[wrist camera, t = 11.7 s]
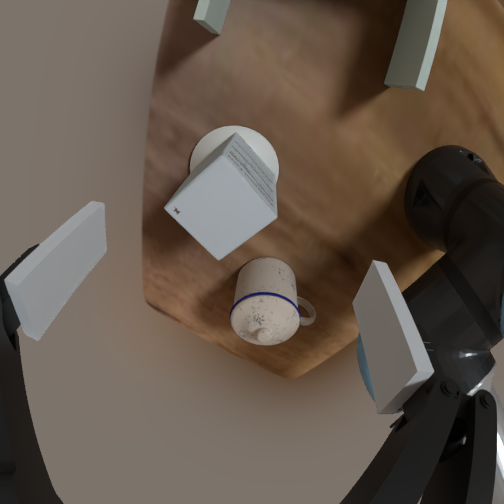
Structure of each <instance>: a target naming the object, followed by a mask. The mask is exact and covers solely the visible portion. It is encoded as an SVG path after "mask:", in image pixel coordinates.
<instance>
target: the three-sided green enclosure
mask: <svg viewBox="0 0 504 504" xmlns="http://www.w3.org/2000/svg"><path fill="white" fill-rule="evenodd" d="M230 1H231V0H199V2H198V5H197V8H196V11H195V15H194V18H193V19H194V20H195V21H196V22H198V23H199V24H200V25H202V26H203V27H204V28H206V29H207V30H208V31H209V32H211V33H212V34H218V35H220V34H221V31H222V27H223V24H224V21H225V17H226V14H227V11H228V7H229V4H230ZM446 4H447V0H407V3H406V7H405V11H404V15H403V19H402V23H401V26H400V30H399V34H398V37H397V41H396V44H395V48H394V51H393V55H392V58H391V62H390V65H389V68H388V72H387V75H386V78H385V81H384V84H385V85H387V86H389V87H394V88H403V89H412V90H419V91H424V89H425V86H426V83H427V80H428V76H429V73H430V69H431V66H432V62H433V59H434V55H435V51H436V47H437V43H438V40H439V35H440V31H441V27H442V23H443V18H444V13H445V9H446Z"/></svg>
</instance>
